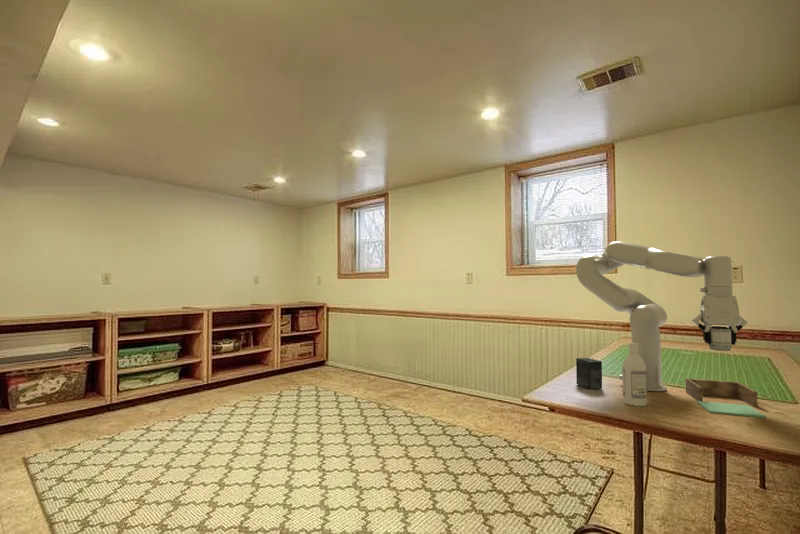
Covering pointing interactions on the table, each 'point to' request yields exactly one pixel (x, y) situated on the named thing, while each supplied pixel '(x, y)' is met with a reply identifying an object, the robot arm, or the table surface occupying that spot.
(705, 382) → the cubby
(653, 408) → the table surface
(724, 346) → the camera lens
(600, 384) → the box
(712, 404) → the cutting mat
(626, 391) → the bath foam
